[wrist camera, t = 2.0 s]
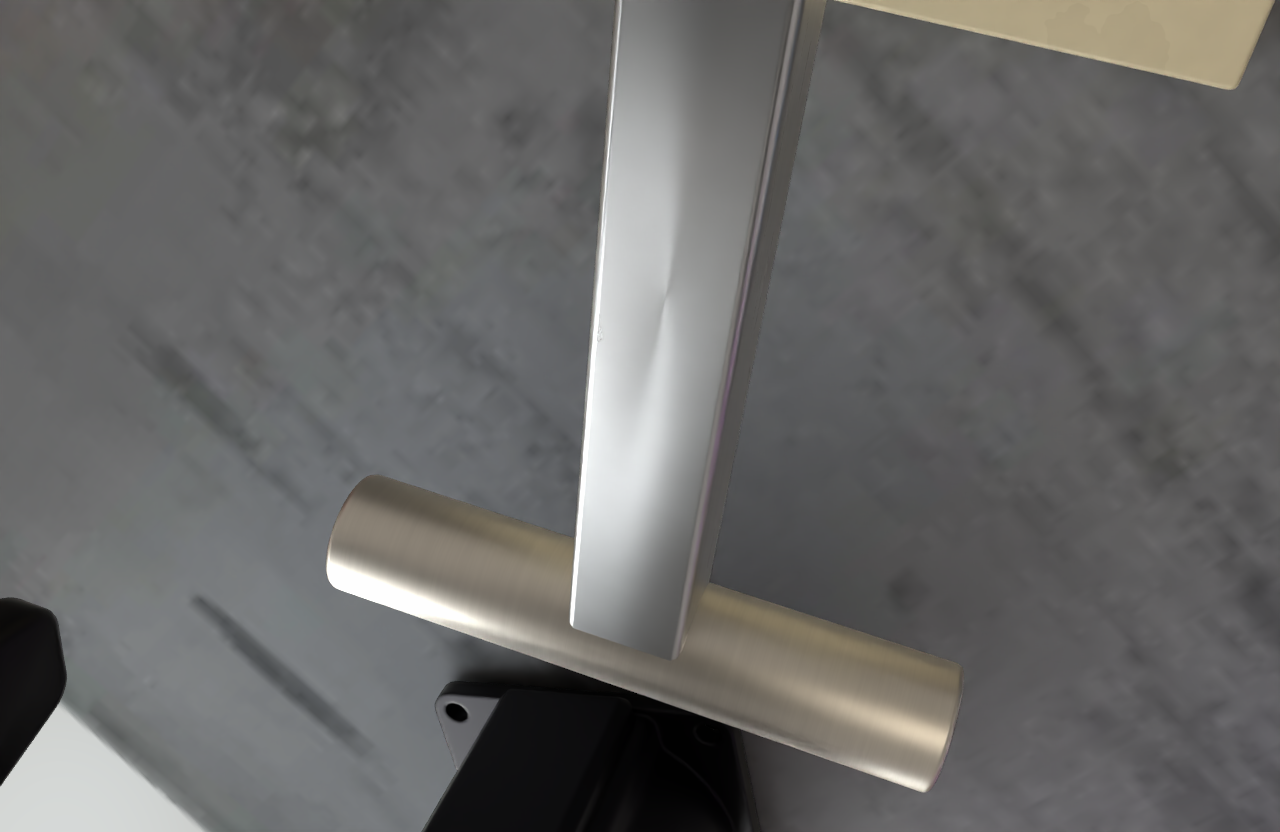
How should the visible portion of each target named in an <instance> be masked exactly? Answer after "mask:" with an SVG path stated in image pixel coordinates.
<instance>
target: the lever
mask: <svg viewBox="0 0 1280 832" xmlns="http://www.w3.org/2000/svg"><path fill="white" fill-rule="evenodd" d="M826 2H827V0H615V6H614V19H613V32H612V45H611V59H610V72H609V85H608V98H607V112H606V125H605V138H604V151H603V165H602V178H601V191H600V204H599V218H598V231H597V244H596V257H595V271H594V284H593V297H592V310H591V324H590V337H589V350H588V364H587V377H586V390H585V403H584V417H583V430H582V443H581V456H580V470H579V483H578V496H577V509H576V523H575V536H574V538H572V537H569V536H566V535H563V534H560V533H557V532H553V531H550V530H547V529H544V528H541V527H538V526H535V525H532V524H529V523H526V522H523V521H520V520H517V519H514V518H511V517H508V516H504V515H501V514H498V513H495V512H492V511H489V510H486V509H483V508H480V507H477V506H474V505H471V504H468V503H465V502H462V501H458V500H455V499H452V498H449V497H446V496H443V495H440V494H437V493H434V492H431V491H428V490H425V489H422V488H419V487H416V486H412V485H409V484H406V483H403V482H400V481H397V480H394V479H391V478H388V477H385V476H382V475H370V476H368V477H366V478H364V479H363V480H362V481H360V482H359V483H358V484H357V485H356V486H355V488H354V489H353V490H352V492H351V493H350V494H349V496H348V497H347V499H346V501H345V502H344V504H343V506H342V508H341V510H340V512H339V514H338V517H337V519H336V522H335V524H334V527H333V530H332V533H331V537H330V540H329V545H328V550H327V558H326V571H327V577H328V579H329V581H330V583H331V584H332V585H333V586H334V587H335V588H337V589H339V590H342V591H345V592H348V593H351V594H354V595H357V596H360V597H362V598H365V599H368V600H371V601H374V602H377V603H380V604H383V605H385V606H388V607H391V608H394V609H397V610H400V611H403V612H405V613H408V614H411V615H414V616H417V617H420V618H423V619H426V620H428V621H431V622H434V623H437V624H440V625H443V626H446V627H449V628H451V629H454V630H457V631H460V632H463V633H466V634H469V635H472V636H474V637H477V638H480V639H483V640H486V641H489V642H492V643H495V644H497V645H500V646H503V647H506V648H509V649H512V650H515V651H518V652H520V653H523V654H526V655H529V656H532V657H535V658H538V659H541V660H543V661H546V662H549V663H552V664H555V665H558V666H561V667H563V668H566V669H569V670H572V671H575V672H578V673H581V674H584V675H586V676H589V677H592V678H595V679H598V680H601V681H604V682H607V683H609V684H612V685H615V686H618V687H621V688H624V689H627V690H630V691H632V692H635V693H638V694H641V695H644V696H647V697H650V698H653V699H655V700H658V701H661V702H664V703H667V704H670V705H673V706H676V707H678V708H681V709H684V710H687V711H690V712H693V713H696V714H699V715H701V716H704V717H707V718H710V719H713V720H716V721H719V722H721V723H724V724H727V725H730V726H733V727H736V728H739V729H742V730H744V731H747V732H750V733H753V734H756V735H759V736H762V737H765V738H767V739H770V740H773V741H776V742H779V743H782V744H785V745H788V746H790V747H793V748H796V749H799V750H802V751H805V752H808V753H811V754H813V755H816V756H819V757H822V758H825V759H828V760H831V761H834V762H836V763H839V764H842V765H845V766H848V767H851V768H854V769H857V770H859V771H862V772H865V773H868V774H871V775H874V776H877V777H879V778H882V779H885V780H888V781H891V782H894V783H897V784H900V785H902V786H905V787H908V788H911V789H914V790H917V791H920V792H928V791H930V789H931V788H932V787H933V786H934V784H935V783H936V781H937V779H938V777H939V775H940V772H941V770H942V767H943V765H944V762H945V759H946V756H947V753H948V750H949V747H950V744H951V741H952V737H953V734H954V730H955V727H956V723H957V719H958V715H959V710H960V705H961V700H962V695H963V688H964V671H963V667H961V666H960V665H959V664H958V663H955V662H952V661H949V660H946V659H943V658H940V657H937V656H934V655H931V654H928V653H924V652H921V651H918V650H915V649H912V648H909V647H906V646H903V645H900V644H897V643H894V642H891V641H888V640H885V639H882V638H878V637H875V636H872V635H869V634H866V633H863V632H860V631H857V630H854V629H851V628H848V627H845V626H842V625H839V624H836V623H832V622H829V621H826V620H823V619H820V618H817V617H814V616H811V615H808V614H805V613H802V612H799V611H796V610H793V609H790V608H786V607H783V606H780V605H777V604H774V603H771V602H768V601H765V600H762V599H759V598H756V597H753V596H750V595H747V594H744V593H740V592H737V591H734V590H731V589H728V588H725V587H722V586H719V585H716V584H713V583H710V582H709V581H710V576H711V571H712V566H713V561H714V556H715V551H716V546H717V541H718V536H719V531H720V526H721V521H722V516H723V511H724V506H725V502H726V497H727V492H728V487H729V482H730V477H731V472H732V467H733V462H734V457H735V452H736V447H737V442H738V437H739V432H740V427H741V422H742V417H743V412H744V407H745V403H746V398H747V393H748V388H749V383H750V378H751V373H752V368H753V363H754V358H755V353H756V348H757V343H758V338H759V333H760V328H761V323H762V318H763V313H764V308H765V304H766V299H767V294H768V289H769V284H770V279H771V274H772V269H773V264H774V259H775V254H776V249H777V244H778V239H779V234H780V229H781V224H782V219H783V214H784V209H785V205H786V200H787V195H788V190H789V185H790V180H791V175H792V170H793V165H794V160H795V155H796V150H797V145H798V140H799V135H800V130H801V125H802V120H803V115H804V110H805V106H806V101H807V96H808V91H809V86H810V81H811V76H812V71H813V66H814V61H815V56H816V51H817V46H818V41H819V36H820V31H821V26H822V21H823V16H824V11H825V7H826Z"/></svg>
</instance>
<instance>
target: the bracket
mask: <svg viewBox="0 0 1280 832" xmlns="http://www.w3.org/2000/svg"><path fill="white" fill-rule="evenodd" d="M835 1H840V2H844V3H848V4H853V5H857V6H862V7H866V8H870V9H875V10H879V11H883V12H888V13H892V14H897V15H901V16H905V17H910V18H914V19H919V20H923V21H927V22H932V23H936V24H941V25H945V26H949V27H954V28H958V29H963V30H967V31H971V32H976V33H980V34H984V35H989V36H993V37H998V38H1002V39H1006V40H1011V41H1015V42H1020V43H1024V44H1028V45H1033V46H1037V47H1042V48H1046V49H1050V50H1055V51H1059V52H1063V53H1068V54H1072V55H1077V56H1081V57H1085V58H1090V59H1094V60H1099V61H1103V62H1107V63H1112V64H1116V65H1121V66H1125V67H1129V68H1134V69H1138V70H1143V71H1147V72H1151V73H1156V74H1160V75H1164V76H1169V77H1173V78H1178V79H1182V80H1186V81H1191V82H1195V83H1200V84H1204V85H1208V86H1213V87H1217V88H1222V89H1226V90H1232V89H1235V88H1236V87H1237V86H1238V85H1239V83H1240V81H1241V79H1242V76H1243V74H1244V72H1245V69H1246V67H1247V65H1248V62H1249V60H1250V58H1251V55H1252V53H1253V51H1254V49H1255V46H1256V44H1257V42H1258V39H1259V37H1260V35H1261V32H1262V30H1263V28H1264V25H1265V23H1266V21H1267V18H1268V16H1269V14H1270V11H1271V9H1272V7H1273V4H1274V2H1275V0H835Z"/></svg>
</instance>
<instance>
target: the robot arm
mask: <svg viewBox="0 0 1280 832" xmlns="http://www.w3.org/2000/svg"><path fill="white" fill-rule="evenodd" d="M66 681H67V672H66V666H65V661H64V655H63V649H62V643H61V637H60V631H59V625H58V621H57V618H56V616H55V615H54V614H53V613H52V612H51V611H50V610H48V609H46V608H43V607H40V606H38V605H35V604H32V603H30V602H27V601H24V600H21V599H18V598H2V599H0V786H1V785H2V784H3V782H4V781H5V779H6V778H7V776H8V775H9V774H10V772H11V771H12V769H13V768H14V767H15V765H16V764H17V762H18V761H19V759H20V758H21V757H22V755H23V754H24V752H25V751H26V750H27V748H28V747H29V745H30V744H31V742H32V741H33V740H34V738H35V736H36V735H37V734H38V732H39V731H40V730H41V728H42V727H43V725H44V724H45V722H46V721H47V720H48V718H49V717H50V715H51V714H52V712H53V711H54V710H55V708H56V707H57V705H58V704H59V702H60V700H61V698H62V696H63V693H64V690H65V687H66ZM435 709H436V713H437V716H438V719H439V722H440V724H441V727H442V730H443V733H444V736H445V739H446V741H447V744H448V747H449V750H450V753H451V756H452V759H453V761H454V764H455V767H456V770H457V772H456V774H455V776H454V777H453V779H452V781H451V782H450V784H449V786H448V787H447V789H446V791H445V793H444V794H443V796H442V798H441V799H440V801H439V803H438V805H437V806H436V808H435V810H434V811H433V813H432V815H431V816H430V818H429V820H428V822H427V823H426V825H425V827H424V828H423V830H422V832H761V831H760V826H759V821H758V816H757V811H756V806H755V801H754V796H753V791H752V786H751V781H750V776H749V771H748V766H747V761H746V756H745V750H744V745H743V740H742V735H741V730H740V729H739V728H736V727H733V726H730V725H727V724H724V723H721V722H719V721H716V720H713V719H710V718H707V717H704V716H701V715H699V714H696V713H693V712H690V711H687V710H684V709H681V708H678V707H676V706H673V705H670V704H667V703H664V702H661V701H658V700H655V699H653V698H650V697H647V696H644V695H636V694H623V693H609V692H596V691H583V690H570V689H557V688H544V687H530V686H517V685H504V684H491V683H478V682H465V681H454V682H450V683H449V684H447V685H446V686H445V687H444V689H443V690H442V692H441V693H440V695H439V696H438V698H437V700H436V702H435ZM705 724H708V725H711V726H714V727H715V728H717V729H718V730H715V729H712V728H709V727H708V726H706V725H705Z"/></svg>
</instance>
